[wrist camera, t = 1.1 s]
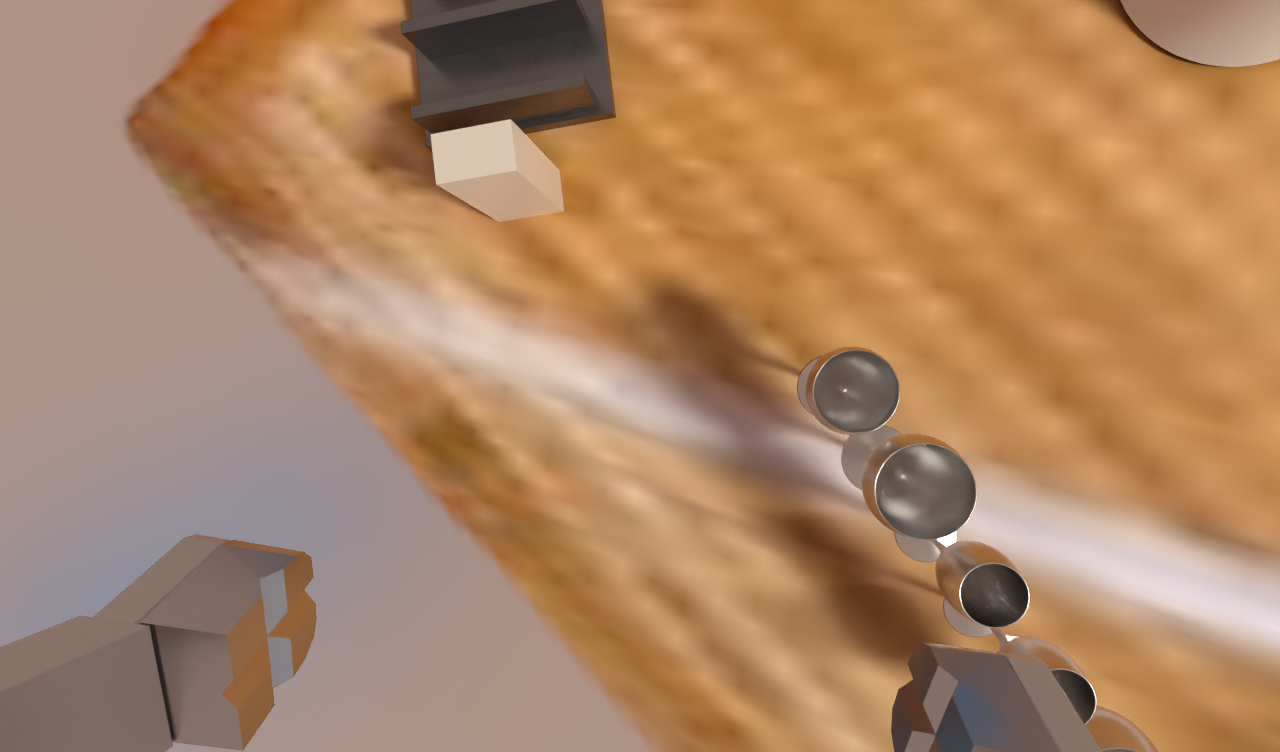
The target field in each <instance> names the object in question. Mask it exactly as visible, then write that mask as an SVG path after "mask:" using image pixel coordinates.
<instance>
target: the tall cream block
mask: <svg viewBox="0 0 1280 752" xmlns="http://www.w3.org/2000/svg"><path fill="white" fill-rule="evenodd" d="M431 143H432V152H433V161H434V170H435V179H436V185H438V186H439V187H441V188H443V189H444V190H446V191H448V192H449V193H451V194H453V195H454V196H456V197H458V198H460V199H461V200H463V201H465V202H466V203H468V204H470V205H471V206H473V207H475V208H476V209H478V210H480V211H481V212H483V213H485V214H486V215H488V216H490V217H491V218H493V219H495V220H496V221H498V222H501V221H507V220H513V219H519V218H526V217H532V216H538V215H544V214H550V213H556V212H562V211H564V206H563V197H562V189H561V180H560V172H559V169H558V168H557V167H556V166H555V165H554V164H553V163H552V162H551V161H550V160H549V159H548V158H547V157H546V156H545V155H544V154H543V152H542V151H541V150H540V149H539V148H538V147H537V146H536V145H535V144H534V143H533V142H532V141H531V140H530V139H529V138H528V137H527V136H526V135H525V134H524V133H523V131H522V130H521V129H520V128H519V127H518V126H517V125H516V124H515V123H514V122H513V121H512V120H511V119H509V120H504V121H498V122H493V123H488V124H483V125H477V126H472V127H467V128H462V129H456V130H451V131H446V132H440V133H435V134H431Z"/></svg>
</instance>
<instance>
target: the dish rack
mask: <svg viewBox="0 0 1280 752" xmlns="http://www.w3.org/2000/svg"><path fill="white" fill-rule="evenodd" d="M410 4H411V13H412V20H407V21H403V22H401V28H402V34H403V35H404V36H405V37H406V38H407V39H408V40H409V41H410V42H411V43H412V44H413V45H414V46H415V48H416V57H417V66H418V75H419V84H420V93H421V102H422V105H417V106H412V107H410V108H411V117H412V119H413V120H414V121H416V122H417V123H418V124H420V125H421V126H422V127H424V129H425V138H426V146H427V147H428V148H429V149H431V150H432V143H431V134H435V133H440V132H446V131H451V130H456V129H462V128H467V127H472V126H477V125H483V124H488V123H493V122H498V121H504V120H509V119H511V120H512V121H513V122H514V123H515V124H516V125H517V126H518V127H519V128H520V129H521V130H522V131H523V133H524V134H528V133H533V132H538V131H544V130H549V129H555V128H560V127H566V126H571V125H576V124H582V123H587V122H593V121H598V120H603V119H609V118H614V117H616V115H615V107H614V98H613V90H612V81H611V73H610V64H609V56H608V47H607V39H606V30H605V22H604V13H603V5H602V0H410Z"/></svg>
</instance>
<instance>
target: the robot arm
mask: <svg viewBox="0 0 1280 752" xmlns="http://www.w3.org/2000/svg"><path fill="white" fill-rule="evenodd" d="M1120 1H1121V3H1122V5H1123V7H1124V9H1125V11H1126V12H1127V14H1128V15H1129V17H1130V18H1131V20H1132V21H1133V22H1134V24H1135V25H1136V26H1137V27H1138V28H1139V29H1140V30H1141V31H1142V32H1143V33H1144V34H1145V35H1146V36H1147V37H1148V38H1149V39H1151V40H1152V41H1153V42H1154V43H1156V44H1157V45H1159V46H1160V47H1162V48H1164V49H1165V50H1167V51H1169V52H1171V53H1173V54H1175V55H1177V56H1180V57H1182V58H1185V59H1188V60H1191V61H1194V62H1198V63H1202V64H1207V65H1214V66H1225V67H1240V66H1251V65H1258V64H1263V63H1267V62H1271V61H1275V60H1278V59H1280V0H1120ZM312 579H313V568H312V560H311V557H310V556H309V555H307V554H306V553H305V552H301V551H296V550H289V549H284V548H278V547H272V546H266V545H260V544H254V543H249V542H243V541H237V540H231V541H230V540H226V539H221V538H215V537H209V536H202V535H197V534H196V535H193V536H189V537H186V538H184V539H182V540H181V541H180V542H179V543H178V544H176V546H174V547H173V548H172V549H171V550H170V551H169V552H167V553H166V554H165V555H164V556H163V557H162V558H160V559H159V560H158V561H157V562H156V563H155V564H154V565H152V566H151V567H150V568H149V569H148V570H147V571H146V572H144V573H143V574H142V575H141V576H140V577H139V578H138V579H136V580H135V581H134V582H133V583H132V584H131V585H130V586H128V587H127V588H126V589H125V590H124V591H123V592H122V593H120V594H119V595H118V596H117V597H116V598H115V599H114V600H112V601H111V602H110V603H109V604H108V605H107V606H106V607H104V608H103V609H102V610H101V611H100V612H99V613H97V615H95V616H94V617H86V616H78V617H76V618H73V619H71V620H68V621H66V622H63V623H61V624H58V625H56V626H53V627H51V628H48V629H45V630H43V631H40V632H38V633H35V634H33V635H30V636H28V637H25V638H23V639H20V640H18V641H15V642H12V643H10V644H7V645H5V646H2V647H0V752H165V751H167V750H168V749H169V748H171V747H172V746H173V743H172V742H177V743H185V744H193V745H202V746H210V747H218V748H227V749H235V750H244V749H245V747H246V746H247V744H248V743H249V741H250V740H251V738H252V737H253V736H254V734H255V733H256V731H257V729H258V728H259V727H260V725H261V724H262V722H263V721H264V719H265V718H266V717H267V715H268V714H269V712H270V711H271V709H272V708H273V706H274V696H273V688H274V687H276V686H278V685H280V684H281V683H283V682H285V681H287V680H288V679H290V678H292V677H294V675H295V674H296V672H297V671H298V669H299V668H300V666H301V664H302V663H303V661H304V660H305V658H306V655H307V653H308V650H309V648H310V645H311V642H312V640H313V637H314V632H315V625H316V604H315V603H314V601H313V600H312V599H311V598H310V596H309V595H308V594H307V593H306V592H305V590H304V589H305V587H306V586H307V585H308V584H309V583H310V581H311V580H312ZM908 666H909V669H910V672H911V674H912V677H913V680H912V681H910V682H909V683H907V684H906V685H904V686H903V687H901V688H900V689H898V693H897V696H896V699H895V702H894V705H893V708H892V726H891V732H892V739H893V746H894V751H895V752H1102V751H1101V750H1100V748H1099V747H1098V745H1097V744H1096V742H1095V740H1094V739H1093V737H1092V736H1091V734H1090V732H1089V731H1088V729H1087V728H1086V726H1085V725H1084V723H1083V721H1082V720H1081V718H1080V717H1079V715H1078V713H1077V712H1076V710H1075V709H1074V707H1073V706H1072V704H1071V702H1070V701H1069V699H1068V698H1067V696H1066V694H1065V693H1064V691H1063V690H1062V688H1061V686H1060V685H1059V683H1058V682H1057V680H1056V679H1055V677H1054V675H1053V674H1052V672H1051V671H1050V669H1049V667H1048V666H1047V665H1046V664H1045V663H1044V662H1043V661H1042V660H1040V659H1039V658H1038V657H1035V656H1027V655H1019V654H1011V653H1003V652H996V653H994V652H990V651H983V650H976V649H968V648H961V647H954V646H947V645H940V644H932V643H925V642H920V643H919V644H918V645H917V646H916V647H915V648H914V649H913V652H912V654H911V657H910V660H909V662H908Z"/></svg>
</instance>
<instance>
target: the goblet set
mask: <svg viewBox="0 0 1280 752" xmlns="http://www.w3.org/2000/svg"><path fill="white" fill-rule="evenodd" d="M797 390H798V396H799V399H800V401H801V403H802V405H803V406H804V408H805V409H806V410H807V411H808V412H809V413H811V414H812V415H814V417H815V418H816V419H817V420H818V421H819V422H820V423H821V424H822V425H823V426H825V427H826V428H828V429H830V430H832V431H834V432H837V433H840V434H845V435H851V436H850V437H849V439H848V440H847V441H846V443H845V445H844V448H843V451H842V466H843V470H844V472H845V474H846V476H847V478H848V479H849V481H850V482H851V483H852V484H853V485H854V486H856V487H857V488H859V489H860V490H862V492H863V496H864V499H865V501H866V503H867V505H868V507H869V509H870V511H871V512H872V513H873V515H874V516H875V517H876V518H877V519H878V520H879V521H880V522H881V523H882V524H883V525H885V526H886V527H887V528H889V529H890V530H892V531H894V532H895V538H896V541H897V544H898V546H899V547H900V549H901V550H902V551H903V552H904V553H905V554H906V555H907V556H908V557H910V558H912V559H914V560H916V561H920V562H934V561H937V562H936V567H935V573H936V579H937V583H938V586H939V588H940V590H941V592H942V594H943V596H944V597H945V599H944V614H945V617H946V619H947V621H948V622H949V624H950V625H951V626H952V627H953V628H954V629H955V630H956V631H958V632H959V633H961V634H963V635H965V636H969V637H985V636H988V635H990V634H992V633H994V635H995V636H996V637H997V639H998V641H999V643H1000V651H999V652H1003V653H1011V654H1019V655H1027V656H1035V657H1038V658H1039V659H1040V660H1042V661H1043V662H1044V663H1045V664H1046V665H1047V666H1048V667H1049V669H1050V671H1051V672H1052V674H1053V675H1054V677H1055V679H1056V680H1057V682H1058V683H1059V685H1060V686H1061V688H1062V690H1063V691H1064V693H1065V694H1066V696H1067V698H1068V699H1069V701H1070V702H1071V704H1072V706H1073V707H1074V709H1075V710H1076V712H1077V713H1078V715H1079V717H1080V718H1081V720H1082V721H1083V723H1084V725H1085V726H1086V728H1087V729H1088V731H1089V732H1090V734H1091V736H1092V737H1093V739H1094V740H1095V742H1096V744H1097V745H1098V747H1099V748H1100V750H1101V751H1102V752H1158V750H1157V749H1156V747H1155V746H1154V745H1153V743H1152V742H1151V741H1150V739H1149V738H1148V737H1147V736H1146V735H1145V734H1144V733H1143V732H1142V731H1141V730H1140V729H1139V728H1138V727H1137V726H1136V725H1134V724H1133V723H1132V722H1131V721H1129V720H1128V719H1126V718H1124V717H1123V716H1121V715H1119V714H1118V713H1116V712H1113V711H1111V710H1108V709H1106V708H1103V707H1099V706H1096V695H1095V692H1094V689H1093V687H1092V686H1091V684H1090V682H1089V680H1088V679H1087V677H1086V676H1085V674H1084V673H1083V671H1082V670H1081V668H1080V667H1079V666H1078V665H1077V664H1076V662H1075V661H1074V660H1073V659H1072V658H1071V657H1070V656H1068V655H1067V654H1066V653H1065V652H1064V651H1062V650H1061V649H1060V648H1058V647H1057V646H1055V645H1053V644H1051V643H1050V642H1047V641H1045V640H1043V639H1040V638H1036V637H1032V636H1010V635H1008V634H1006V633H1005V632H1003V631H1002V630H1001V629H1000V628H1004V627H1008V626H1010V625H1012V624H1014V623H1016V622H1017V621H1018V620H1020V619H1021V618H1022V616H1023V615H1024V614H1025V612H1026V610H1027V608H1028V605H1029V590H1028V586H1027V584H1026V582H1025V580H1024V578H1023V576H1022V575H1021V573H1020V572H1019V570H1018V569H1017V567H1016V566H1015V565H1014V564H1013V563H1012V562H1011V561H1010V560H1009V559H1008V558H1007V557H1006V556H1005V555H1004V554H1002V553H1001V552H1000V551H998V550H996V549H995V548H993V547H991V546H988V545H986V544H983V543H980V542H975V541H959V542H956V539H957V531H958V530H959V529H960V528H961V527H962V526H963V525H964V524H965V523H966V522H967V521H968V519H969V518H970V516H971V515H972V513H973V510H974V508H975V504H976V499H977V487H976V481H975V478H974V475H973V473H972V471H971V469H970V467H969V466H968V464H967V463H966V462H965V460H964V459H963V458H962V457H961V456H960V454H959V453H958V452H956V451H955V450H954V449H953V448H952V447H950V446H949V445H947V444H946V443H944V442H942V441H940V440H938V439H936V438H933V437H930V436H926V435H920V434H905V435H903V434H901V433H900V432H899V431H897V430H896V429H894V428H891V427H889V426H885V425H884V424H885V423H886V422H887V421H888V420H889V419H890V418H891V417H892V415H893V414H894V412H895V410H896V408H897V406H898V403H899V399H900V385H899V380H898V377H897V375H896V373H895V371H894V369H893V368H892V366H891V365H890V364H889V363H888V362H887V361H886V360H885V359H884V358H883V357H882V356H880V355H879V354H877V353H875V352H873V351H871V350H868V349H865V348H861V347H843V348H839V349H835V350H833V351H831V352H829V353H827V354H825V355H824V356H822V357H818V358H816V359H814V360H812V361H811V362H810V363H808V364H807V365H806V366H805V368H804V369H803V370H802V372H801V374H800V376H799V379H798V385H797Z"/></svg>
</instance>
